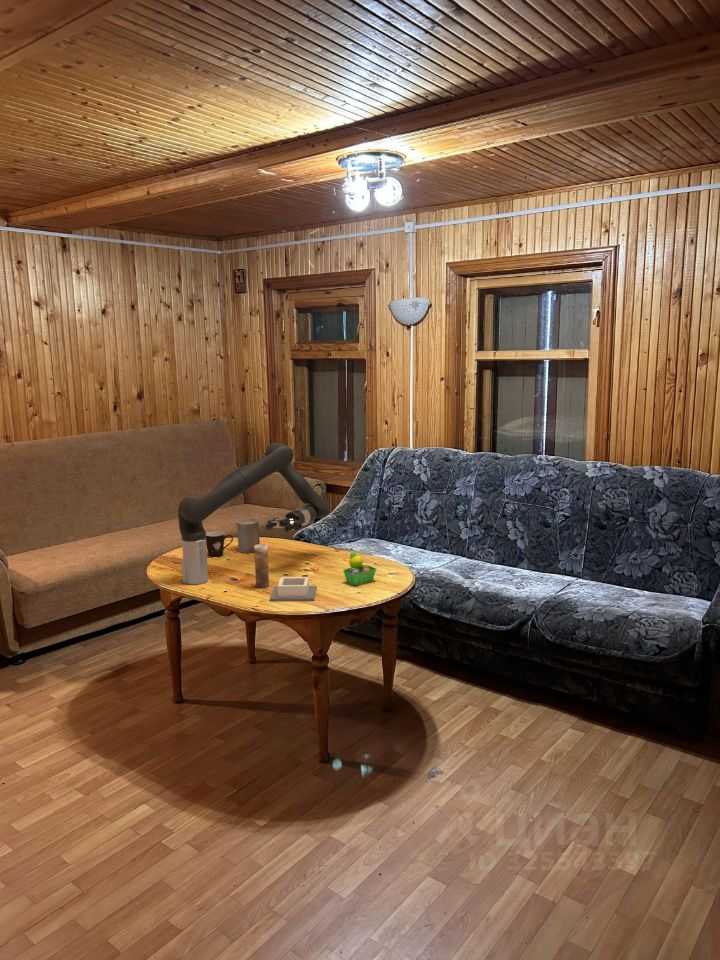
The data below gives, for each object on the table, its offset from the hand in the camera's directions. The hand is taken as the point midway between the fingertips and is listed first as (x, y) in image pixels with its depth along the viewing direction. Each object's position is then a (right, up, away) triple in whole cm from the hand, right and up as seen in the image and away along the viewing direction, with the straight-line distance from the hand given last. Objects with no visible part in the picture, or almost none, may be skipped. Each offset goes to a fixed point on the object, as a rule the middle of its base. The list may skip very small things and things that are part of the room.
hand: (276, 528), depth 286 cm
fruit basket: (+32, -21, -1) cm, 39 cm away
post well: (+8, -23, -16) cm, 30 cm away
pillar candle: (-17, -13, +44) cm, 49 cm away
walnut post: (-5, -22, -6) cm, 23 cm away
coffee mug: (-29, -15, +37) cm, 49 cm away
